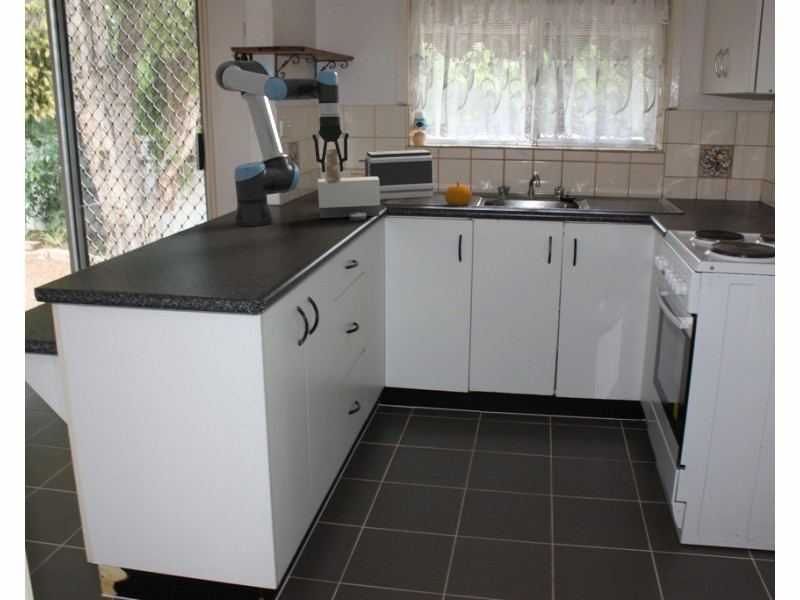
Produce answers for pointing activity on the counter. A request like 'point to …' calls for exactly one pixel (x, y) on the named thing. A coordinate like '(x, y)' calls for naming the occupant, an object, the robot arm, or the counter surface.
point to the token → (357, 215)
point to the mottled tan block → (332, 166)
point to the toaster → (401, 173)
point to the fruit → (458, 195)
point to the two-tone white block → (349, 196)
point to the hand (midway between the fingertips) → (333, 180)
